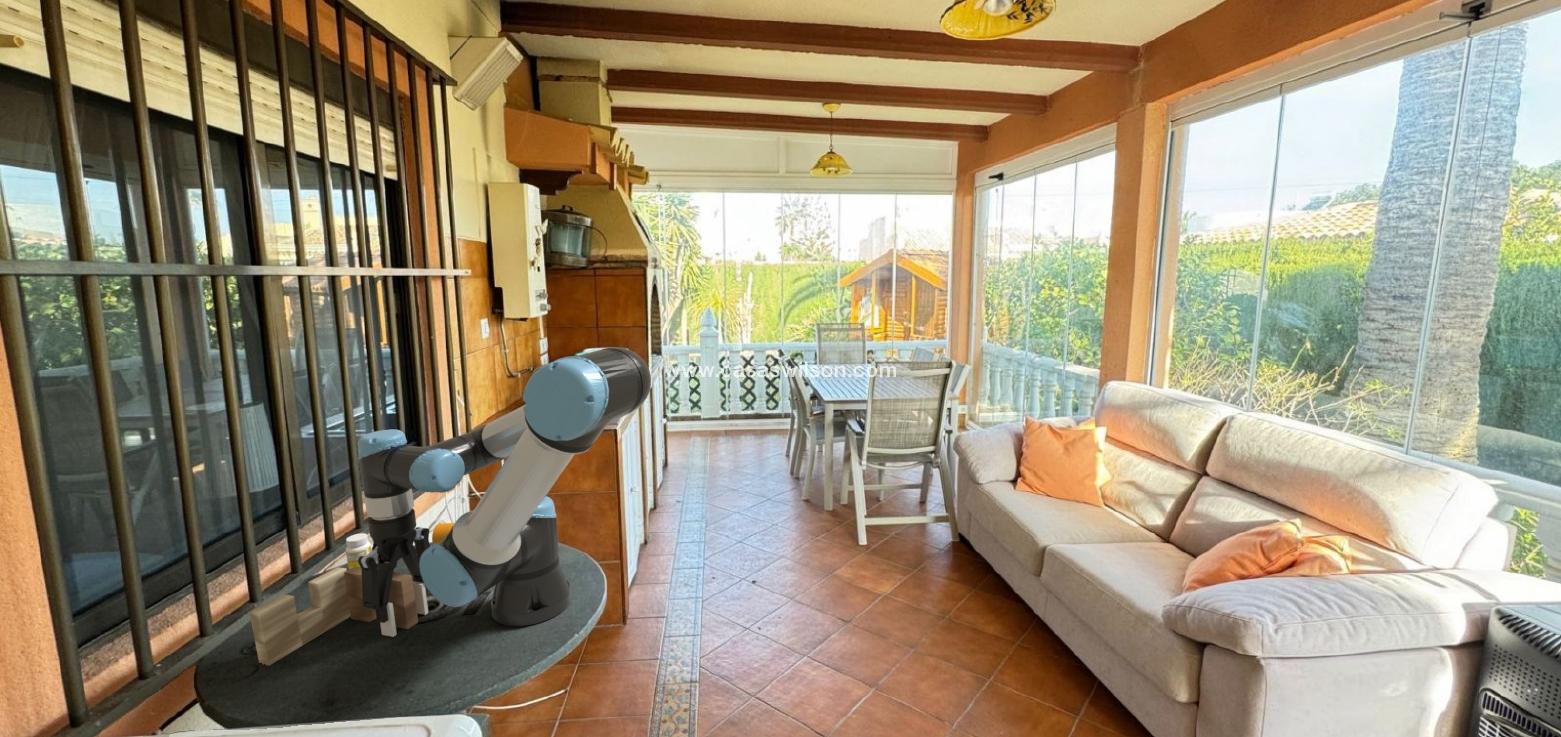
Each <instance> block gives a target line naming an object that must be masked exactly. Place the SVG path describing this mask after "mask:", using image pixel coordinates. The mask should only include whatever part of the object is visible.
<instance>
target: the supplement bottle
mask: <svg viewBox="0 0 1561 737" xmlns="http://www.w3.org/2000/svg"><path fill="white" fill-rule="evenodd" d="M368 536H369V535H368V534H367V533H355V534H352V535H350V536H348V537H346V538H345V539H346V540H345V542H346V547H345V554H346V560H347V569H348V570H349V569H351V568H353V567H355V566H357V567H360V565H359V563H358V559H359V557H360V556H366V555H368V554H369V553H370V552H371V551H372V544H371V542H370V541H369V538H368Z"/></svg>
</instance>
